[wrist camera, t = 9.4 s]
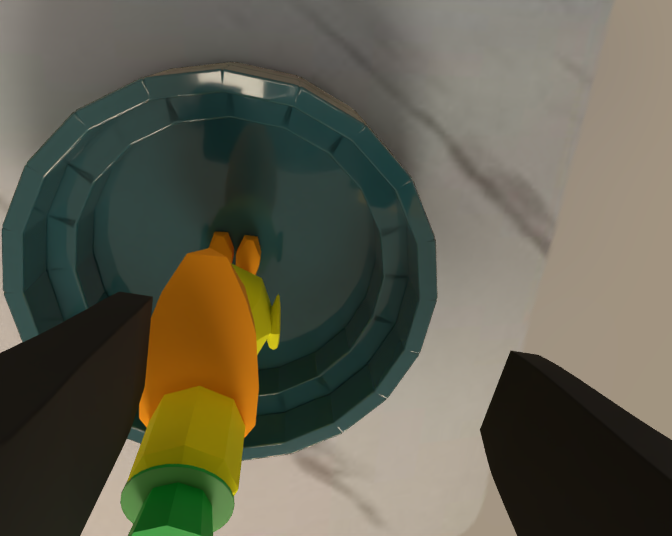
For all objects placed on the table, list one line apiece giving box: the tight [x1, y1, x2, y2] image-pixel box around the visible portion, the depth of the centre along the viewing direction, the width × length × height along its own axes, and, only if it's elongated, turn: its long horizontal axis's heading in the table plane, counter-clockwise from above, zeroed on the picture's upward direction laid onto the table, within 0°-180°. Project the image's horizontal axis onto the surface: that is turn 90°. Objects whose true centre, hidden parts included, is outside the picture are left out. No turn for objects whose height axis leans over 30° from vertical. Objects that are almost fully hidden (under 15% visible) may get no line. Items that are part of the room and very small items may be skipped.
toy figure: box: [121, 231, 281, 536], centre depth 15 cm, size 7×4×12 cm, turn 172°
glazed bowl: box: [2, 62, 437, 461], centre depth 19 cm, size 13×13×4 cm
